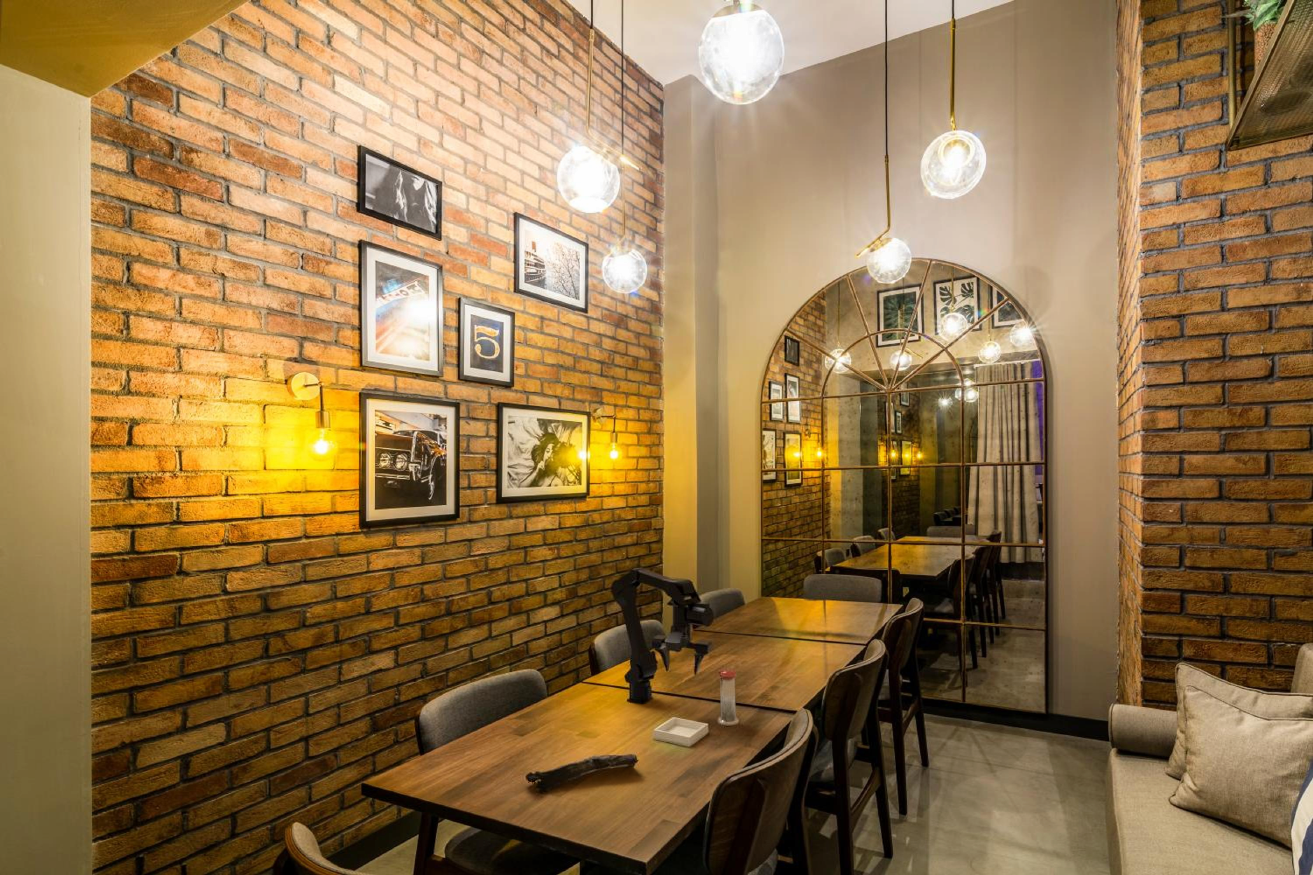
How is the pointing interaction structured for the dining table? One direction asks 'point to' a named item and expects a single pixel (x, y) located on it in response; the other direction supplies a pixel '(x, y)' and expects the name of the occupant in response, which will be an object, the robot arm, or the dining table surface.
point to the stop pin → (727, 697)
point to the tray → (680, 731)
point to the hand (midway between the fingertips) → (681, 672)
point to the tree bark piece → (579, 769)
